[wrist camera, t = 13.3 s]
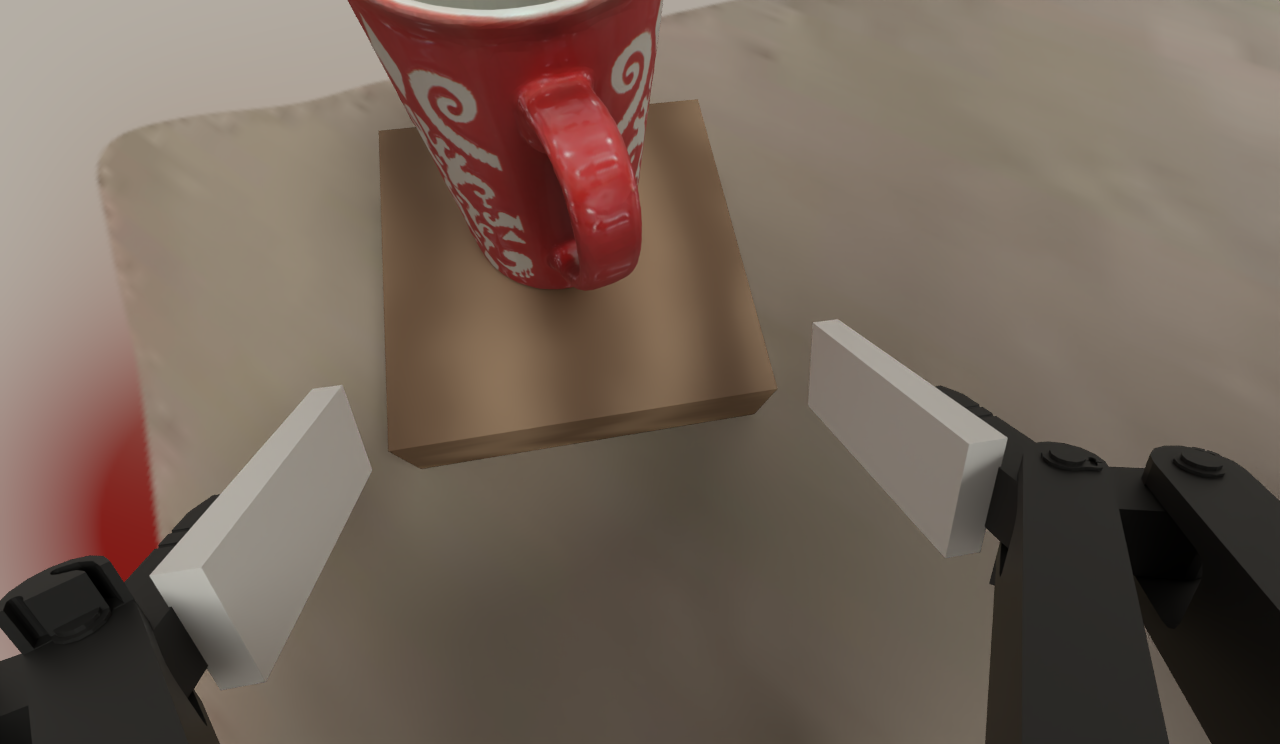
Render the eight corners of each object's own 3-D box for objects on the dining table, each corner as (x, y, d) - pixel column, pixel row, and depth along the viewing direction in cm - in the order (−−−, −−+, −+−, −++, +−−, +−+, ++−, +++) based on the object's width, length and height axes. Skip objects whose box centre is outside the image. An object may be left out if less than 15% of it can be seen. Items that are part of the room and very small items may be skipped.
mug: (435, 167, 26) (270, -208, 14) (615, 125, 28) (619, -250, 15) (498, 410, 22) (350, 202, 10) (705, 348, 24) (811, 96, 11)
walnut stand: (687, 154, 32) (697, 99, 29) (754, 413, 27) (777, 388, 23) (407, 184, 31) (378, 130, 27) (420, 468, 25) (388, 451, 22)
